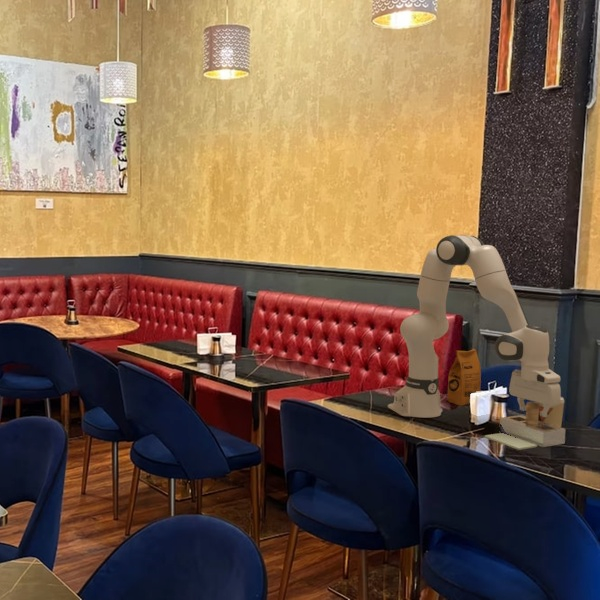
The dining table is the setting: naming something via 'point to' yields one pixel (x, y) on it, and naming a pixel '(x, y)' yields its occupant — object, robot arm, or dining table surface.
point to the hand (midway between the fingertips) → (533, 413)
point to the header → (533, 431)
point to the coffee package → (464, 377)
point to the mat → (510, 441)
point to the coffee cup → (553, 414)
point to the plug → (532, 413)
